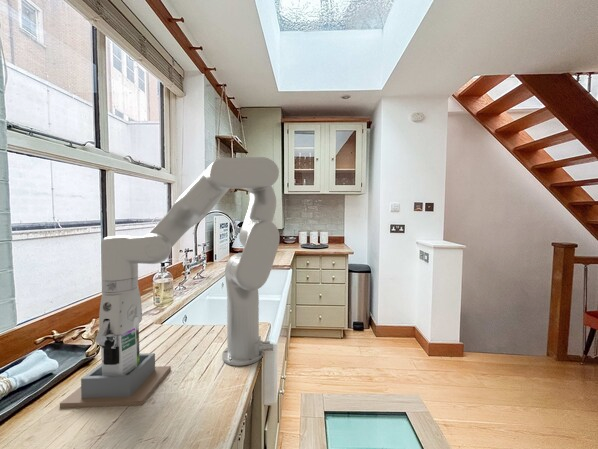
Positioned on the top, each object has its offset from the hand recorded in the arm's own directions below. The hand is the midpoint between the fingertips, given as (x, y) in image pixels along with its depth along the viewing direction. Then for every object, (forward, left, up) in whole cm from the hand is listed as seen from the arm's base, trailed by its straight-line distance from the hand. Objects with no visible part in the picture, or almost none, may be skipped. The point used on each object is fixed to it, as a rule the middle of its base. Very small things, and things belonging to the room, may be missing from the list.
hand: (121, 355), depth 65 cm
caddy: (0, 0, -8) cm, 8 cm away
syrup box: (0, 0, -5) cm, 5 cm away
